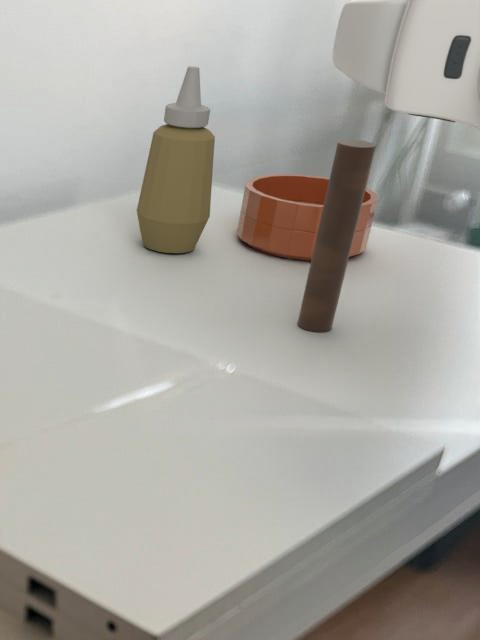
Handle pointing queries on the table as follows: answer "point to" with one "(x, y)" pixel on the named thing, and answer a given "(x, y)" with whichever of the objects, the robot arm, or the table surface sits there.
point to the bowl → (293, 215)
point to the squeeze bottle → (178, 174)
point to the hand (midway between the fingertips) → (453, 29)
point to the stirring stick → (335, 233)
